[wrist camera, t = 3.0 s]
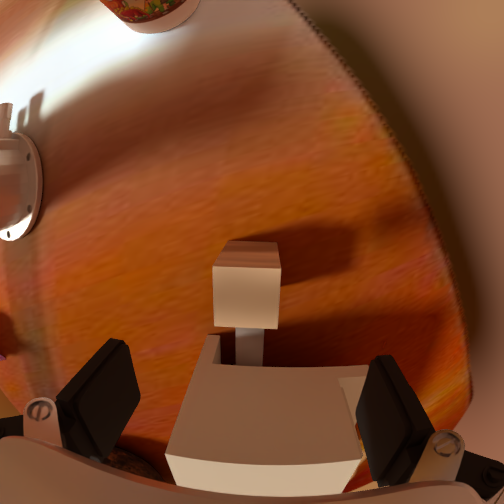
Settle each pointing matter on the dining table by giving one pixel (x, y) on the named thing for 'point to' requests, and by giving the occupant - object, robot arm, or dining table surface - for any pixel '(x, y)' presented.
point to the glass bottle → (131, 464)
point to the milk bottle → (152, 13)
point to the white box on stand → (266, 428)
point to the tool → (247, 295)
